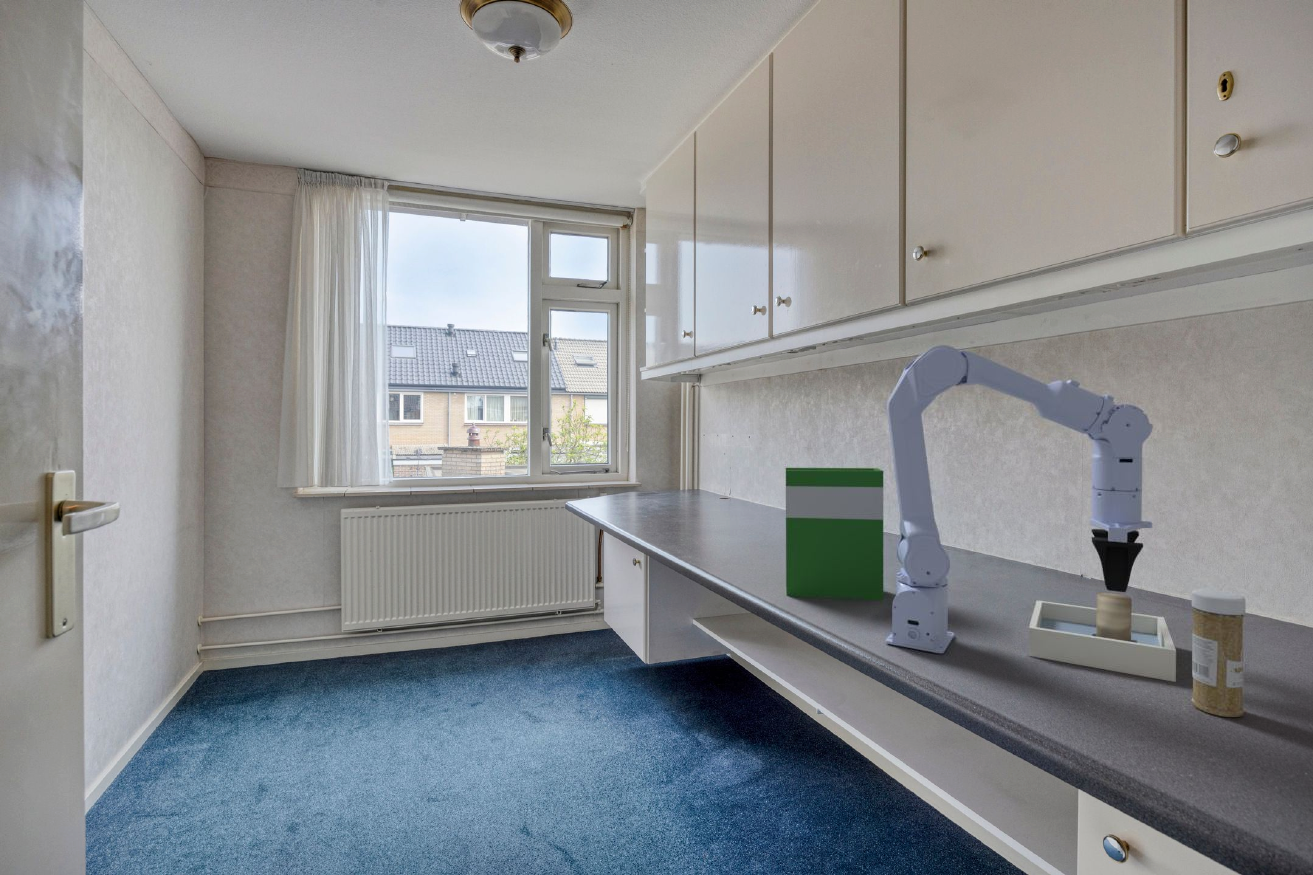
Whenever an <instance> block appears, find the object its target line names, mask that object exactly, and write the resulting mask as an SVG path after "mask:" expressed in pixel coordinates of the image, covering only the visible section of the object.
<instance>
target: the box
mask: <svg viewBox="0 0 1313 875" xmlns="http://www.w3.org/2000/svg"><path fill="white" fill-rule="evenodd" d="M1096 625H1097V607H1089V606H1082V605H1075V604H1068V603H1067V604H1066V603H1060V602H1051V601H1045V600H1036V602H1035V605H1034V609H1033V612H1032V615H1031V619H1030V623H1029V626H1028V656H1029V657H1034V658H1039V659H1045V660H1051V661H1055V662H1062V663H1068V664H1073V665H1078V666H1084V667H1091V668H1096V669H1099V670H1100V669H1101V670H1105V671H1111V672H1117V673H1123V674H1127V675H1128V674H1129V675H1135V676H1139V677H1140V676H1141V677H1145V678H1151V679H1155V680H1162V681H1167V682H1173V683H1176V680H1177V678H1176V676H1177V675H1176V674H1177V669H1176V668H1177V650H1176V647H1175V644H1174V641H1173V639H1172V636H1171V633H1170V631H1169V628H1168V625H1167V623H1166V620H1165V617H1163V616H1156V615H1148V614H1141V613H1133V612H1132V613H1131V642H1128V641H1122V640H1116V639H1109V638H1103V637H1096Z"/></svg>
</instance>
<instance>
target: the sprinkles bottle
mask: <svg viewBox="0 0 1313 875" xmlns="http://www.w3.org/2000/svg"><path fill="white" fill-rule="evenodd" d="M1246 605H1247V604H1246V597H1245V596H1243V595H1241V594H1239V593H1235V592H1231V591H1227V590H1219V589H1211V588H1198V589H1194V590H1192V592H1191V606H1192V611H1193V614H1192V615H1193V620H1192V621H1193V623H1192V624H1193V625H1192V627H1193V628H1192V634H1191V636H1192V642H1191V643H1192V644H1191V645H1192V647H1191V649H1192V654H1191V658H1192V659H1191V666H1192V667H1191V670H1192V672H1191V673H1192V678H1193V679H1192V698H1191V704H1192V705H1193V706H1194V707H1196V708H1197V709H1199V710H1200V711H1203V712H1205V713H1207V714H1210V715H1216V716H1220V717H1224V718H1239V717H1242V716H1244V713H1245V711H1244V708H1243V697H1244V696H1243V694H1244V693H1243V691H1244V690H1243V687H1244V643H1243V638H1244V636H1243V635H1244V634H1243V630H1244V629H1243V628H1244V626H1243V624H1244V622H1243V621H1244V620H1243V619H1244V617H1245V614H1246V609H1247V608H1246Z"/></svg>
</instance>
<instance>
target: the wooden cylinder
mask: <svg viewBox="0 0 1313 875" xmlns="http://www.w3.org/2000/svg"><path fill="white" fill-rule="evenodd" d="M1132 602H1133V601H1132V598H1131V597H1129V596H1126V595H1123V594H1118V593H1117V594H1116V593H1111V592H1110V593H1108V592H1100V593H1097V594H1096V608H1097V625H1096V637H1103V638H1109V639H1116V640H1122V641H1128V642H1131V613H1133V612H1132V611H1133V610H1132V605H1133V604H1132Z"/></svg>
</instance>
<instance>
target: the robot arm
mask: <svg viewBox="0 0 1313 875" xmlns="http://www.w3.org/2000/svg"><path fill="white" fill-rule="evenodd" d="M1080 384H1081V383H1080V382H1079V381H1076V380H1073V379H1067V380H1066V381H1063V380H1056V381H1052V382H1050V383H1047V384H1046V383H1044V382H1042V381H1039V380H1037V379H1034V378H1032V377H1030V376H1028V375H1025V374H1023V373H1020V372H1019V371H1016V370H1014V369H1012V368H1009V367H1007V366H1005V365H1003V364H1001V363H998V362H996V361H993V360H992V359H989V358H986V357H984V356H981V355H979V354H976V353H973V352H971V351H967V350H960V351H959V350H958V349H957V348H955V347H953V346H951V345H947V344H946V345H945V344H942V345H941V344H940V345H935V346H933V347H930V348H929V349H927V350H926V351H925V352H922V353H921V354H919V355H917V357H914V359H913V360H912V361H911V362H910V363H909V364H908V365H907V366H905V367H904V368H903V371H902V374H901V375H900V377H899V379H898V382H897V383H896V384H895V387H894V389H893V391H892V392H891V394H890V396H889V398H888V400H887V401H886V402H887V403H886V414H887V422H888V430H889V437H890V446H891V452H892V453H891V454H892V462H893V469H894V476H895V477H894V478H895V485H896V494H897V500H898V508H899V509H898V510H899V517H900V518H899V533H900V534H899V535H900V536H899V540H898V542H897V544H896V550H895V553H896V557H897V559H898V561H899V563H900V564H901V565H902V567H901V568H900V569H899V571H898V572H897V573H896V575H895V576H896V579H895V580H896V581H895V584H896V587H895V588H896V590H895V592H896V593H895V596H894V598H893V601H892V606H891V608H892V611H891V612H892V613H891V615H892V617H891V618H892V620H891V621H892V622H891V624H892V625H891V626H892V630H891V631H892V632H891V633H890V634H889V636H887V638H886V639H885V643H886V644H887V645H892V646H899V647H902V648H904V647H905V648H910V649H915V650H920V651H924V652H930V653H935V654H944V653H945V651H946V650H947V648H948V646H949V645H950V643H951V641H952V639H953V638H954V637H955V632H953V631H948V621H949V620H948V616H949V615H948V614H949V611H948V610H949V609H948V606H949V605H948V604H949V602H948V600H949V599H948V598H949V596H948V595H949V594H948V592H949V589H948V587H949V586H948V584H949V583H948V581H949V580H948V578H947V576H948V575H949V572H950V568H951V560H950V557H949V555H948V553H947V552H946V551H945V549H944V548H943V546H942V544H941V538H940V532H939V529H938V525H937V523H936V522H937V521H936V519H935V512H934V505H933V504H934V503H933V497H932V490H931V489H932V488H931V482H930V472H929V465H928V457H927V450H926V449H927V448H926V442H925V433H924V427H923V418H922V414H923V412H924V411H925V410H926V409H927V408H928V407H929V406H930V405H931V403H932V402H934V400H936V398H937V397H938V396H939V395H941V394H942V393H944V392H946V391H948V390H950V389H951V388H953V387H961V386H962V387H963V386H964V387H965V386H972V385H973V386H975V385H979V386H983V387H986V388H989V389H991V390H994V391H996V392H1000V393H1001V394H1002V393H1003V394H1004V395H1007V396H1011V397H1013V398H1016V399H1019V400H1022V401H1024V402H1026V403H1030V404H1033V406H1034V407H1035V409H1036V411H1037V415H1039V417H1040V418H1043V419H1046V420H1049V421H1050V422H1053V423H1055V424H1058V425H1060V426H1063V427H1066V428H1068V429H1071V430H1073V431H1076V432H1077V433H1081V434H1083V435H1086V436H1087V437H1088V438H1089V439H1090V440H1091V441H1092V456H1091V460H1092V461H1091V467H1092V468H1091V517H1090V518H1089V525H1090V526H1094V527H1097V528H1092V529H1091V533H1092V535H1093V536H1092V537H1091V542H1092V544H1093V546H1094V548H1095V550H1096V552H1097V554H1098V558H1099V560H1100V564H1101V568H1102V575H1103V579H1104V580H1103V581H1104V585H1105V587H1106V588H1105V589H1106V591H1111V592H1119V593H1126V592H1127V589H1128V587H1129V583H1130V578H1131V574H1132V570H1133V566H1134V564H1135V561H1136V559H1137V558H1138V556H1139V554H1140V552H1141V551H1142V549H1143V548H1144V544H1143V542H1136V541H1137V539H1138V538H1139V536H1140V532H1139V531H1138V530H1141V529H1152V528H1153V523H1152V522H1151V521H1146V520H1145V521H1144V520H1142V518H1143V517H1142V515H1143V514H1142V510H1143V509H1142V508H1143V507H1142V506H1143V504H1142V502H1143V501H1142V498H1143V444H1144V443H1145V441H1147V439H1148V438H1149V437H1150V436H1151V434H1152V432H1153V426H1154V425H1153V423H1150V420H1149V418H1148V415H1147V414H1146V413H1144V412H1145V411H1143V409H1142V408H1140V407H1138V406H1136V405H1133V404H1125V403H1124V404H1116V403H1115V401H1114V400H1115V397H1114V396H1112V395H1110V394H1104V395H1103V396H1102V395H1100V394H1097V393H1094V392H1092V391H1089V390H1086V389H1084V388H1081V387H1080Z"/></svg>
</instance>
